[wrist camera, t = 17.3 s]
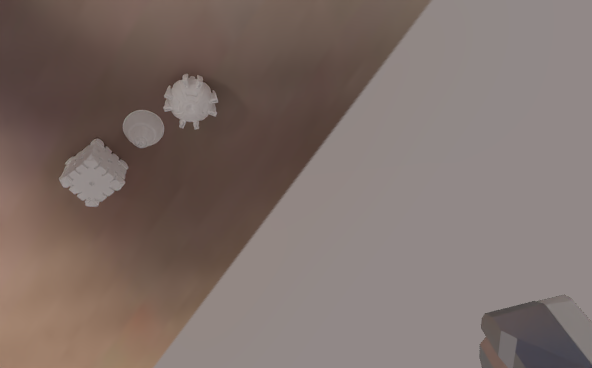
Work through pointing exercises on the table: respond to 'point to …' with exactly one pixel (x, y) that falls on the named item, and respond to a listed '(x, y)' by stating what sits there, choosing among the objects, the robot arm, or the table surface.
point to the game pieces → (135, 141)
